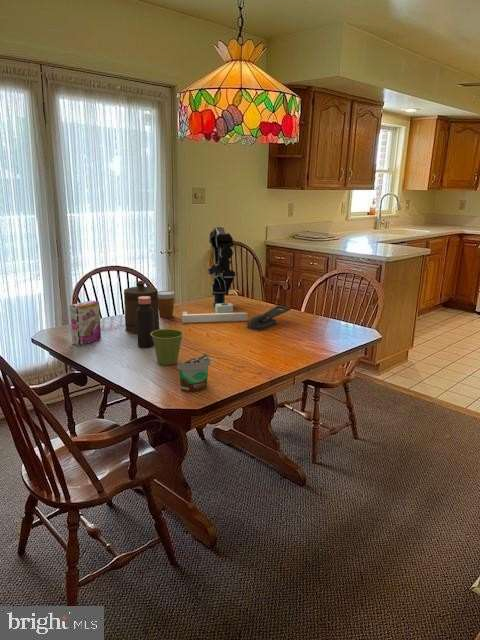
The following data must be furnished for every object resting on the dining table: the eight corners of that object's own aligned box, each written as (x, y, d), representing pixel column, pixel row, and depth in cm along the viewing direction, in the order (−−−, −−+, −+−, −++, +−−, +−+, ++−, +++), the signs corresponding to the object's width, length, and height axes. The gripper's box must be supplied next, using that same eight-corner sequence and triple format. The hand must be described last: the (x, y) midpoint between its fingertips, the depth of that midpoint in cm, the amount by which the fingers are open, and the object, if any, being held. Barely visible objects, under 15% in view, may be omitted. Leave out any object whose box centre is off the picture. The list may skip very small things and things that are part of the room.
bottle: (134, 347, 193) (132, 298, 188) (143, 342, 199) (141, 294, 194) (149, 349, 191) (147, 300, 185) (158, 344, 197) (156, 296, 191)
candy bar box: (79, 346, 193) (76, 306, 188) (72, 344, 196) (68, 304, 191) (102, 339, 202) (99, 301, 197) (94, 337, 204) (91, 299, 200)
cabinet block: (215, 313, 245) (215, 302, 243) (230, 312, 247) (231, 301, 245) (217, 316, 240) (217, 304, 238) (233, 315, 241) (233, 304, 240)
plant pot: (186, 366, 174) (186, 336, 171) (153, 369, 170) (152, 339, 167) (181, 355, 185) (180, 327, 181) (149, 358, 181) (148, 329, 178)
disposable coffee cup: (168, 312, 244) (168, 289, 240) (179, 316, 237) (179, 293, 234) (152, 316, 238) (151, 292, 234) (163, 320, 231) (162, 295, 227)
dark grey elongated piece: (292, 307, 232) (259, 317, 214) (292, 320, 233) (259, 331, 215) (277, 304, 237) (244, 313, 219) (277, 317, 239) (244, 327, 221)
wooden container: (139, 322, 226) (137, 276, 220) (165, 327, 220) (164, 279, 214) (118, 331, 213) (115, 282, 207) (146, 336, 207) (144, 285, 201)
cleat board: (181, 317, 236) (181, 310, 235) (244, 315, 241) (244, 308, 240) (182, 322, 227) (182, 315, 226) (247, 320, 232) (247, 313, 231)
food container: (190, 397, 149) (190, 367, 146) (177, 391, 153) (176, 362, 150) (218, 385, 158) (218, 357, 155) (205, 380, 162) (205, 352, 159)
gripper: (203, 259, 244) (204, 290, 245) (212, 259, 226) (213, 292, 228) (225, 259, 247) (225, 289, 249) (235, 259, 229) (235, 291, 231)
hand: (224, 291), depth 239 cm, fingers open, 9 cm apart
